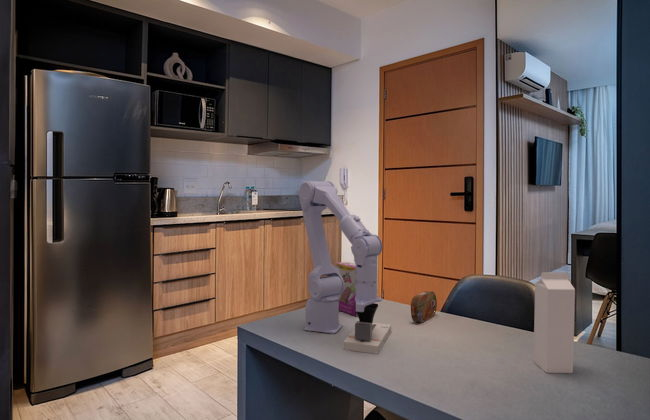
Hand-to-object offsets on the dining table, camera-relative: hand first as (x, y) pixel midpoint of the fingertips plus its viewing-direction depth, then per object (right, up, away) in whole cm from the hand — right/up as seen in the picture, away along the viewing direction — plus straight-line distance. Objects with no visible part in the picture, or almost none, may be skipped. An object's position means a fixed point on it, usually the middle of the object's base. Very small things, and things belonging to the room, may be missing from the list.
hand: (366, 331), depth 109 cm
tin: (+21, -3, +22) cm, 31 cm away
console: (+1, -3, +3) cm, 4 cm away
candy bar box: (-2, -3, +30) cm, 30 cm away
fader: (-1, -1, -3) cm, 3 cm away
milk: (+41, -4, -15) cm, 44 cm away
